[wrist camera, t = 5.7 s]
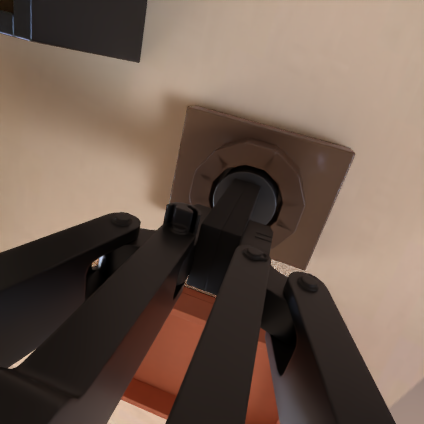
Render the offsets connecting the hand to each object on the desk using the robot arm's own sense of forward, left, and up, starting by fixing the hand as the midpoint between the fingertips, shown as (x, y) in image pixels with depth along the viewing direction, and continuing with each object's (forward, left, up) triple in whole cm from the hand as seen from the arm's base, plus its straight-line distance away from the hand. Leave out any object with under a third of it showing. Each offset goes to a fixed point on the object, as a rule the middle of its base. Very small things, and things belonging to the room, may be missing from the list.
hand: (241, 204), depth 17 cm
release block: (0, 0, -4) cm, 4 cm away
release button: (0, 0, -2) cm, 2 cm away
